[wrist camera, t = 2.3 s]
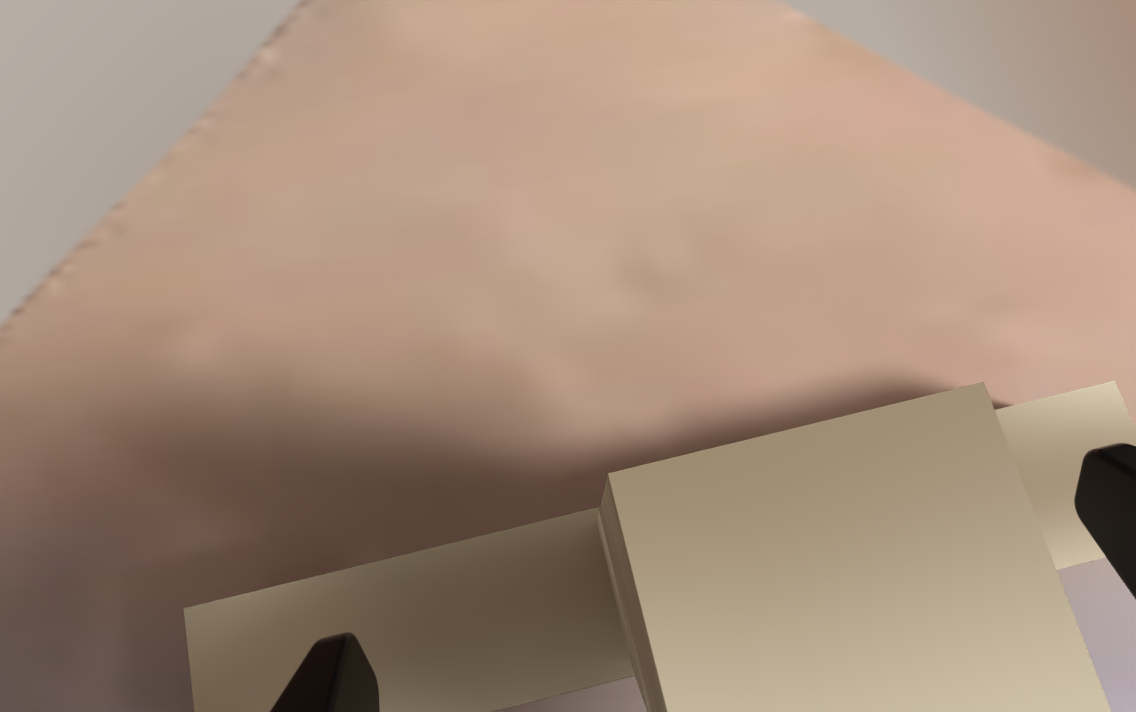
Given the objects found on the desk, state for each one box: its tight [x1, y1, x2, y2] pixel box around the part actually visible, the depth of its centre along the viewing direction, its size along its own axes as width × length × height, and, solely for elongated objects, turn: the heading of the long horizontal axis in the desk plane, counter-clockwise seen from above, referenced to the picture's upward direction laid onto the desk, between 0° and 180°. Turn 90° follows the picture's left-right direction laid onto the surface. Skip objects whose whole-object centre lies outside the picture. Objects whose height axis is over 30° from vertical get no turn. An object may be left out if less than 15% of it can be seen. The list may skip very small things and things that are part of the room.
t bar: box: [183, 381, 1136, 712], centre depth 11 cm, size 3×18×12 cm, turn 104°
